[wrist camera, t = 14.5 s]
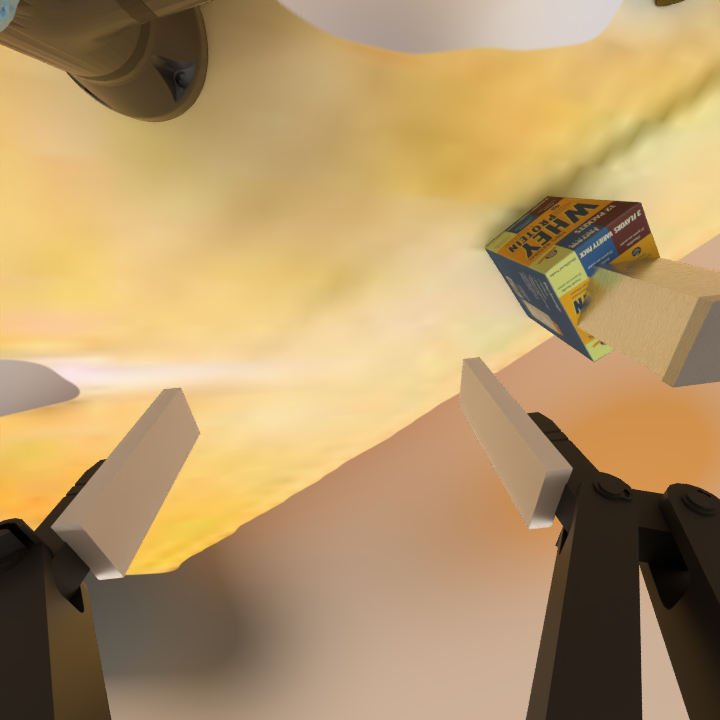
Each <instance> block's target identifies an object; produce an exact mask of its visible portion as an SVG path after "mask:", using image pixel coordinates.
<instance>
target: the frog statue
mask: <svg viewBox="0 0 720 720" xmlns="http://www.w3.org/2000/svg"><path fill="white" fill-rule="evenodd" d="M681 1H684V0H656V4H657V5H658V6H667V5H671V4H675V3H679V2H681Z"/></svg>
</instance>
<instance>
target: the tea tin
mask: <svg viewBox="0 0 720 720" xmlns="http://www.w3.org/2000/svg"><path fill="white" fill-rule="evenodd" d="M577 327H578V328H580V329H582V330H583V331H585V332H587V333H588V334H590V335H592V336H593V337H595V338H597V339H599V340H600V341H602V342H604V343H605V344H607V345H609V346H610V347H612V348H614V349H616V350H617V351H619V352H621V353H622V354H624V355H626V356H627V357H629V358H631V359H633V360H634V361H636V362H638V363H639V364H641V365H643V366H644V367H646V368H648V369H650V370H651V371H653V372H655V373H657V374H658V375H660V376H661V377H663V379H662V381H663V382H665V383H666V384H668V385H670V386H671V387H680V386H688V385H695V384H704V383H711V382H719V381H720V271H715V270H711V269H706V268H702V267H698V266H693V265H689V264H685V263H680V262H676V261H672V260H667V259H663V258H650V259H642V260H633V261H625V262H617V263H608V264H600V265H593V267H592V271H591V275H590V279H589V282H588V286H587V290H586V294H585V298H584V301H583V305H582V309H581V313H580V317H579V321H578V324H577Z"/></svg>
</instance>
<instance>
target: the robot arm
mask: <svg viewBox="0 0 720 720" xmlns="http://www.w3.org/2000/svg"><path fill="white" fill-rule="evenodd" d="M210 1H213V0H0V44H1V45H3V46H6V47H8V48H11V49H13V50H15V51H18V52H20V53H23V54H25V55H27V56H30V57H32V58H35V59H37V60H40V61H42V62H44V63H47V64H49V65H52V66H54V67H56V68H59V69H61V70H64V71H66V72H67V74H68V75H69V76H70V77H71V78H72V79H73V80H74V81H75V82H76V83H77V84H78V85H79V86H80V87H81V88H82V89H83V90H84V91H85V92H86V93H88V94H89V95H90V96H91V97H93V98H94V99H95V100H97V101H98V102H100V103H101V104H103V105H105V106H106V107H108V108H110V109H112V110H114V111H116V112H118V113H120V114H123V115H126V116H129V117H132V118H135V119H138V120H143V121H150V122H160V121H166V120H170V119H173V118H175V117H177V116H179V115H181V114H182V113H184V112H185V111H186V110H187V109H189V108H190V107H191V105H192V104H193V103H194V102H195V100H196V99H197V97H198V95H199V93H200V91H201V89H202V87H203V84H204V80H205V76H206V71H207V62H208V48H207V38H206V32H205V27H204V23H203V19H202V16H201V13H200V10H199V7H198V5H201V4H204V3H207V2H210ZM459 407H460V409H461V411H462V413H463V414H464V416H465V418H466V420H467V421H468V423H469V425H470V427H471V428H472V430H473V432H474V434H475V436H476V437H477V439H478V441H479V442H480V444H481V446H482V448H483V450H484V451H485V453H486V455H487V457H488V458H489V460H490V462H491V464H492V465H493V467H494V469H495V471H496V473H497V474H498V476H499V478H500V480H501V481H502V483H503V485H504V487H505V488H506V490H507V492H508V494H509V496H510V497H511V499H512V501H513V503H514V504H515V506H516V508H517V510H518V511H519V513H520V515H521V516H522V519H523V520H524V522H525V524H526V526H527V527H528V529H534V528H542V527H551V526H552V523H553V520H554V517H555V515H556V516H557V518H558V519H559V521H560V522H561V524H562V525H563V528H562V530H561V533H560V535H559V538H558V540H557V543H556V546H557V547H558V550H557V556H556V561H555V567H554V572H553V577H552V583H551V588H550V593H549V598H548V604H547V609H546V615H545V621H544V626H543V631H542V636H541V641H540V648H539V652H538V658H537V663H536V668H535V674H534V679H533V684H532V690H531V695H530V700H529V706H528V711H527V717H526V720H642V684H641V636H640V592H639V591H640V589H639V565H640V568H641V571H642V575H643V577H644V581H645V584H646V587H647V590H648V593H649V596H650V599H651V602H652V605H653V608H654V611H655V614H656V618H657V620H658V624H659V627H660V630H661V633H662V636H663V639H664V642H665V645H666V648H667V651H668V654H669V657H670V660H671V663H672V666H673V670H674V673H675V676H676V679H677V682H678V685H679V688H680V691H681V694H682V697H683V700H684V703H685V706H686V710H687V712H688V716H689V719H690V720H720V499H718V498H717V497H716V496H714V495H713V494H711V493H709V492H707V491H705V490H703V489H701V488H698V487H695V486H692V485H689V484H680V483H676V484H672V485H670V486H669V487H668V488H667V490H666V491H665V493H664V494H660V493H654V492H647V491H641V490H635V489H631V487H630V486H629V485H628V484H626V483H625V482H623V481H622V480H621V479H619V478H617V477H615V476H612V475H610V474H607V473H603V472H599V471H598V470H597V469H596V468H595V467H594V466H593V464H592V463H591V462H590V461H589V460H588V459H587V458H586V457H585V456H584V455H583V454H582V453H581V451H580V450H579V449H578V448H577V447H576V446H575V445H574V444H573V443H572V442H571V441H569V440H568V437H566V435H565V434H564V433H563V432H561V430H560V429H559V428H558V427H557V426H556V425H555V423H554V422H553V421H552V420H550V419H549V418H547V417H545V416H544V415H542V414H541V413H539V412H535V413H526V412H525V411H524V410H523V408H522V407H521V406H520V405H519V404H518V403H517V401H516V400H515V399H514V398H513V397H512V396H511V394H510V393H509V392H508V391H507V389H506V388H505V387H504V386H503V385H502V384H501V382H500V381H499V380H498V379H497V378H496V376H495V375H494V374H493V373H492V372H491V370H490V369H489V368H488V367H487V366H486V365H485V363H484V362H483V361H482V360H481V359H480V357H478V358H469V359H463V368H462V378H461V388H460V398H459ZM199 434H200V431H199V429H198V427H197V424H196V422H195V420H194V417H193V415H192V413H191V410H190V408H189V406H188V403H187V401H186V399H185V396H184V394H183V392H182V389H181V388H172V389H164V390H163V391H162V392H161V393H160V395H159V396H158V397H157V398H156V400H155V401H154V402H153V403H152V404H151V406H150V407H149V408H148V409H147V410H146V412H145V413H144V414H143V415H142V417H141V418H140V419H139V420H138V421H137V423H136V424H135V425H134V426H133V428H132V429H131V430H130V431H129V432H128V434H127V435H126V436H125V437H124V438H123V440H122V441H121V442H120V443H119V445H118V446H117V447H116V448H115V449H114V451H113V452H112V453H111V454H110V456H109V457H108V458H107V459H104V460H100V461H99V462H97V463H96V464H95V465H94V466H92V467H91V468H90V469H88V470H87V471H86V472H85V473H84V474H83V475H82V477H81V478H80V479H79V480H78V481H77V482H76V484H75V486H73V487H72V488H71V489H70V491H69V492H68V493H67V494H66V497H64V498H63V499H62V500H61V501H60V502H59V503H58V505H57V506H56V507H55V508H54V509H53V510H52V512H51V513H50V514H49V515H48V516H47V517H46V519H45V520H44V521H43V522H42V523H41V524H40V526H39V527H38V528H37V529H36V530H35V531H33V530H32V529H31V528H30V527H29V526H28V525H27V524H26V523H25V522H24V521H23V520H22V519H17V518H13V519H8V520H4V521H2V522H0V720H111V715H110V710H109V705H108V699H107V693H106V688H105V683H104V677H103V672H102V666H101V661H100V656H99V650H98V645H97V639H96V634H95V629H94V623H93V617H92V612H91V606H90V601H89V596H88V591H87V587H86V586H85V584H84V583H83V582H82V581H83V580H84V578H85V577H86V575H87V573H88V572H89V570H90V571H91V572H92V573H93V574H94V575H95V576H96V577H97V578H98V579H99V580H103V579H111V578H120V577H124V575H125V574H126V572H127V570H128V568H129V566H130V564H131V562H132V560H133V558H134V557H135V555H136V553H137V551H138V549H139V547H140V545H141V543H142V542H143V540H144V538H145V536H146V534H147V532H148V530H149V528H150V527H151V525H152V523H153V521H154V519H155V517H156V515H157V513H158V511H159V510H160V508H161V506H162V504H163V502H164V500H165V498H166V496H167V495H168V493H169V491H170V489H171V487H172V485H173V483H174V481H175V480H176V478H177V476H178V474H179V472H180V470H181V468H182V466H183V464H184V463H185V461H186V459H187V457H188V455H189V453H190V451H191V449H192V448H193V446H194V444H195V442H196V440H197V438H198V436H199Z"/></svg>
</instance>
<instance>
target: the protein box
mask: <svg viewBox="0 0 720 720" xmlns="http://www.w3.org/2000/svg"><path fill="white" fill-rule="evenodd" d="M485 249H486V251H487V252H488V254H489V255H490V257H491V258H492V260H493V262H494V263H495V265H496V266H497V268H498V269H499V271H500V272H501V274H502V276H503V277H504V279H505V280H506V282H507V284H508V285H509V287H510V288H511V290H512V292H513V293H514V295H515V296H516V298H517V300H518V301H519V303H520V304H521V306H522V308H523V309H524V311H525V312H526V314H527V315H528V317H530V318H531V319H533V320H534V321H536V322H537V323H538V324H540V325H541V326H543V327H544V328H545V329H547V330H548V331H550V332H551V333H553V334H554V335H556V336H557V337H558V338H560V339H561V340H563V341H564V342H566V343H567V344H569V345H570V346H572V347H573V348H574V349H576V350H577V351H579V352H580V353H582V354H583V355H584V356H586V357H587V358H589V359H590V360H592V361H593V362H595V361H597V360H599V359H600V358H602V357H603V356H605V355H606V354H608V353H610V352H611V351H613V350H614V348H612V347H610V346H609V345H607V344H605V343H604V342H602V341H600V340H599V339H597V338H595V337H593V336H592V335H590V334H588V333H587V332H585V331H583V330H582V329H580V328H578V327H577V324H578V321H579V317H580V313H581V309H582V305H583V301H584V298H585V294H586V290H587V286H588V282H589V279H590V275H591V271H592V267H593V265H600V264H608V263H617V262H625V261H633V260H642V259H650V258H660V256H659V253H658V250H657V247H656V244H655V241H654V238H653V236H652V233H651V231H650V228H649V225H648V222H647V219H646V216H645V213H644V210H643V207H642V204H641V203H640V202H625V201H609V200H594V199H578V198H561V197H547V198H545V199H544V200H543V201H542V202H540V203H539V204H538V205H537V206H535V207H534V208H533V209H532V210H530V211H529V212H528V213H527V214H526V215H524V216H523V217H522V218H520V219H519V220H518V221H517V222H515V223H514V224H513V225H512V226H510V227H509V228H508V229H507V230H506V231H504V232H503V233H502V234H501V235H499V236H498V237H497V238H496V239H494V240H493V241H492V242H491V243H489V244H488V245H487V246H486V247H485Z"/></svg>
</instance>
